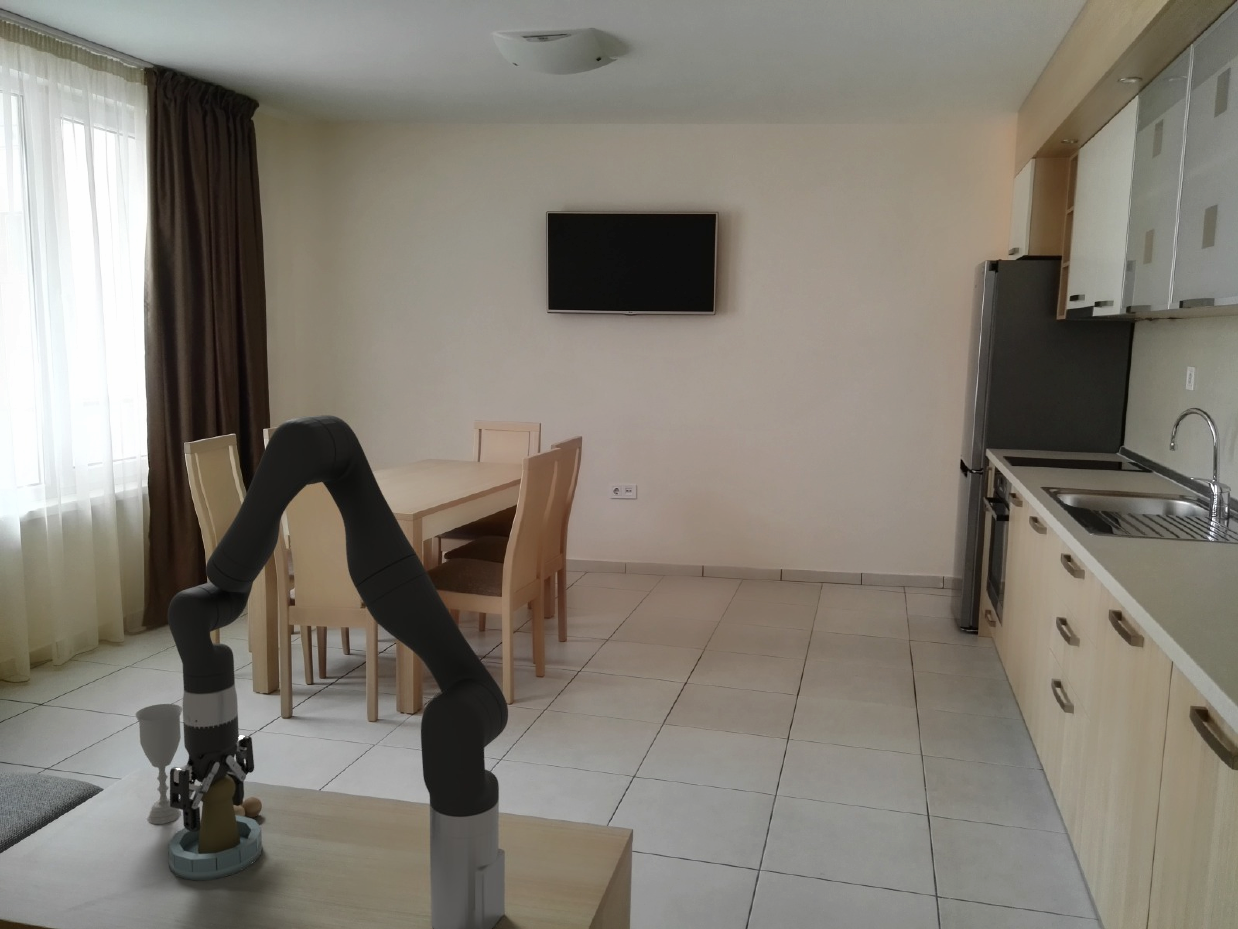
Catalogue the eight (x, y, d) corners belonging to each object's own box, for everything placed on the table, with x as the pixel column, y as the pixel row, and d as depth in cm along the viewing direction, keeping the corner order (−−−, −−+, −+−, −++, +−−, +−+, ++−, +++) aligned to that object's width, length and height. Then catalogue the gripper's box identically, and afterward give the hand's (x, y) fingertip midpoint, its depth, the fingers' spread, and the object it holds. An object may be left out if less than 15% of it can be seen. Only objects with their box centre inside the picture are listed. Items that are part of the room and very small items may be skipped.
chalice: (196, 813, 155) (192, 710, 153) (157, 831, 150) (152, 724, 147) (170, 802, 159) (165, 700, 157) (131, 818, 153) (126, 713, 151)
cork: (224, 860, 140) (221, 790, 138) (189, 854, 141) (185, 785, 140) (248, 839, 145) (246, 772, 144) (214, 834, 147) (211, 767, 145)
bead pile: (265, 811, 157) (265, 793, 156) (250, 829, 151) (250, 811, 150) (227, 810, 157) (227, 792, 156) (211, 828, 151) (210, 810, 150)
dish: (280, 844, 146) (279, 825, 146) (217, 888, 134) (216, 867, 134) (215, 827, 151) (215, 808, 151) (149, 868, 139) (148, 848, 139)
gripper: (192, 737, 132) (197, 845, 134) (264, 701, 145) (268, 800, 147) (152, 728, 135) (158, 834, 137) (226, 694, 148) (231, 791, 150)
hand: (215, 816), depth 142 cm, fingers open, 8 cm apart
